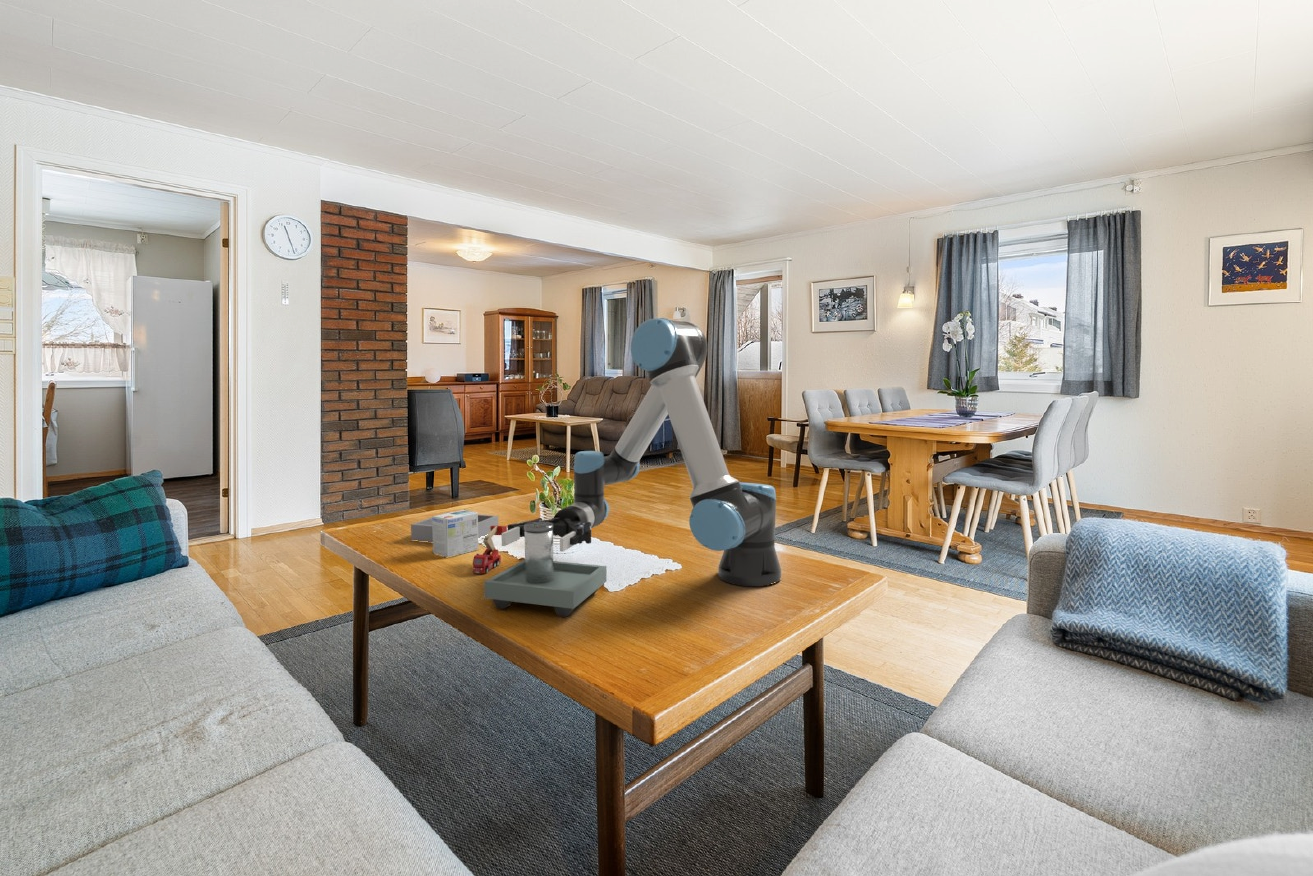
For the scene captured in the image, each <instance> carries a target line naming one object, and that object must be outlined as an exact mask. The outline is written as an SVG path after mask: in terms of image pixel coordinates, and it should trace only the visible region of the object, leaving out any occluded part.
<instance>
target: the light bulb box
mask: <svg viewBox="0 0 1313 876" xmlns="http://www.w3.org/2000/svg"><path fill="white" fill-rule="evenodd" d="M450 512H451V513H446V512H445V513H446V514H443V513H441V515H440V514H438V515H432V516H431V517H432V531H433V543H432V550H433V552H432V553H434V554H438V555H442V556H445V557H450V556H453V557H455V556H454V555H457V556H459V555H458V554H461V555H465V554H468V553H467V552H469V553H472V552H475V551H474V550H476V551H478V550H477V549H479V541H478V514H479V512H477V511H472V510H467V509H465V510H464V509H459V510H457V511H456V510H455V511H450ZM471 551H472V552H471ZM464 553H465V554H464ZM434 554H433V555H434ZM450 558H451V557H450Z"/></svg>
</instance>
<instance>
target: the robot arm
mask: <svg viewBox="0 0 1313 876" xmlns="http://www.w3.org/2000/svg"><path fill="white" fill-rule="evenodd" d="M630 353H631V358H632V361H633V362H634V363H635V364H636V366H637V367H639V368H640V369H641V370H644V371H646V374H647V377H648V380H649V383H650V387H649V389H648V391H647V392H646V394H645V395H644V397H643V399H642V400H641V402H640V404H639V406H638V407H637V409H636V411H635V413H634V414H633V416H632V418H631V419H630V421H629V423H628V424H627V426H626V428H625V430H624V431H623V432H622V434H621V436H620V438H619V440H618V442H617V443H616V445H615V446H614V447H613V450H612V451H611V453H610V454H609V455H607V456H604V453H603V452H602V451H598V450H584V451H582V450H581V451H578V452H576V453H575V454H574V459H573V460H574V462H573V463H574V465H573V481H574V482H573V483H574V485H573V486H574V487H573V488H574V489H573V492H574V493H573V494H574V497H573V501H574V502H573V503H572V504H569V505H568V506H565V507H564V508H562V509H560V510H557V512H556V513H555V514H554V516H553V517H552V518H550V519H544V520H543V518H541V517H538V518H536V519H532V520H526V521H521V522H516V523H511V524H508V525H507V531H506V532H504V533H502V535H501V547H506V546H509V545H510V544H512V543H514V542H517V541H518V540H520V539H521V538H523V537H524V538H525V531H524V525H525V524H527V523H531V522H550V523H553V536H555V537H556V536H558V537H560V538H559V552H565V551H567V550H568V549H570V548H571V547H573V546H576V545H577V544H579V545H580V544H583V542H585V544H592V529H593V528H596V527H598V526H599V525H600V524H602V523H603V522H604V521H605V520H606V519H607V518H608V516H609V514H610V506H609V503H608V502H607V500H606V498H605V497H604V496H605V487H606V486H608V485H613V484H619V483H624V482H628V481H630V480H632V479H634V478H636V477H637V476H638V474H639V473H640V460H641V458H642V457H643V455H644V453H645V452H646V450H647V449H648V447H649V446H650V444H651V442H652V441H653V439H654V438H655V436H656V434H657V433H658V431H659V429H660V428H661V426H662V424H663V423H664V421H665V420H666V418H667V417H669V420H670V423H671V427H672V428H673V429H672V430H673V432H674V435H675V437H676V440H677V443H678V446H679V449H680V452H681V455H682V458H683V461H684V464H685V466H686V467H685V468H686V471H687V473H688V476H689V480H690V481H691V484H692V491H691V493H690V495H689V501H690V502H691V506H692V509H691V511H690V516H689V519H688V520H689V521H688V522H689V528H690V532H691V533H692V535H693V537H694V538H695V540H696V542H698V543H699V544H700V545H701V546H703V547H705V548H707V549H709V550H711V551H714V552H715V551H716V552H720V551H723V552H722V556H721V558H720V561H719V564H718V569H717V570H718V571H717V573H718V574H717V577H718V578H719V579H720V581H721V580H722V581H723V582H726V583H728V584H731V585H736V586H743V587H764V586H763V585H767V586H769V585H768V584H771V583H774V582H778V581H779V580H780V578H781V579H782V567H781V565H780V561H779V558H778V557H779V556H778V554H777V551H776V547H775V546H776V545H775V542H776V541H775V540H776V539H775V538H776V514H777V512H776V511H777V510H776V507H777V500H778V499H777V498H776V497H777V496H776V495H777V494H776V492H777V491H776V489H775V487H774V486H773V485H770V484H763V483H754V482H753V483H752V482H742V481H741V482H740V481H739V480H738V479H736V478H735V477H732V476H731V475H730V472H729V470H728V467H727V464H726V462H725V457H724V456H723V454H722V449H721V447H720V445H719V441H718V438H717V435H716V433H715V430H714V428H713V425H712V421H711V419H710V415H709V413H708V410H707V407H706V404H705V401H704V398H703V396H702V393H701V390H700V387H699V384H698V382H697V379H696V378H697V376H698V375H699V373H700V371H701V369H703V366H704V364H705V360H706V359H707V355H708V341H707V338H706V335H705V333H704V332H703V331H702V329H701V328H700V327H698V326H697V325H695V324H694V323H691V322H688V321H680V320H672V319H668V318H665V317H660V318H650V319H647V320H645V321H643V322H641V324H639V326H637V328H636V329H635V330H634V333H633V335H632V337H631V339H630ZM780 581H781V580H780ZM780 581H779V582H780ZM779 582H778V583H779Z"/></svg>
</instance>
